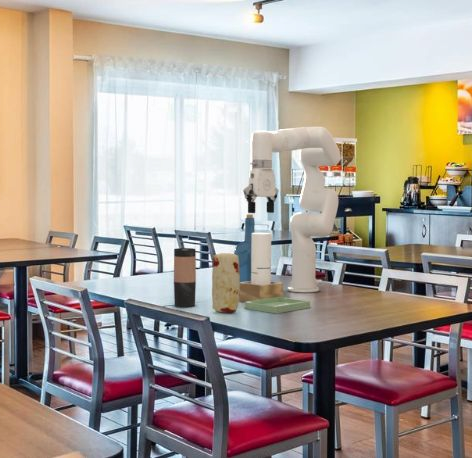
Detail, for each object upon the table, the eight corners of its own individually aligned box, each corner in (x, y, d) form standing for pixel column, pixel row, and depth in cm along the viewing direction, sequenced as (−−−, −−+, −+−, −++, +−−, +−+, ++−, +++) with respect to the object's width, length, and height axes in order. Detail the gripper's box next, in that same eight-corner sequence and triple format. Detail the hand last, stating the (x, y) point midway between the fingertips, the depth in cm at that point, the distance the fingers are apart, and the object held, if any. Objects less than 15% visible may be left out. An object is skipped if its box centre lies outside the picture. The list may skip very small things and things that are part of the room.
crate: (260, 298, 293) (260, 279, 293) (283, 301, 285) (283, 282, 285) (238, 301, 285) (238, 282, 284) (261, 305, 277) (261, 285, 276)
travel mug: (199, 304, 277) (199, 248, 275) (190, 308, 269) (190, 250, 268) (179, 303, 279) (179, 247, 278) (170, 306, 272) (170, 249, 271)
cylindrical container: (268, 303, 281) (269, 234, 279) (249, 302, 282) (249, 233, 281) (272, 300, 288) (273, 233, 286) (253, 299, 289) (254, 232, 288)
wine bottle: (246, 282, 338) (246, 213, 336) (271, 285, 330) (271, 214, 328) (226, 285, 327) (226, 214, 325) (251, 288, 319) (252, 215, 317)
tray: (279, 302, 282) (279, 296, 282) (310, 307, 272) (310, 301, 272) (244, 308, 270) (244, 301, 270) (275, 313, 260) (275, 306, 260)
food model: (208, 312, 260) (208, 253, 259) (216, 309, 266) (217, 251, 265) (235, 314, 257) (236, 254, 255) (243, 311, 263) (243, 252, 262)
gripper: (252, 164, 273) (251, 213, 274) (285, 166, 286) (284, 212, 286) (237, 164, 278) (236, 212, 279) (270, 166, 291) (269, 212, 292)
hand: (261, 212), depth 283 cm, fingers open, 9 cm apart
